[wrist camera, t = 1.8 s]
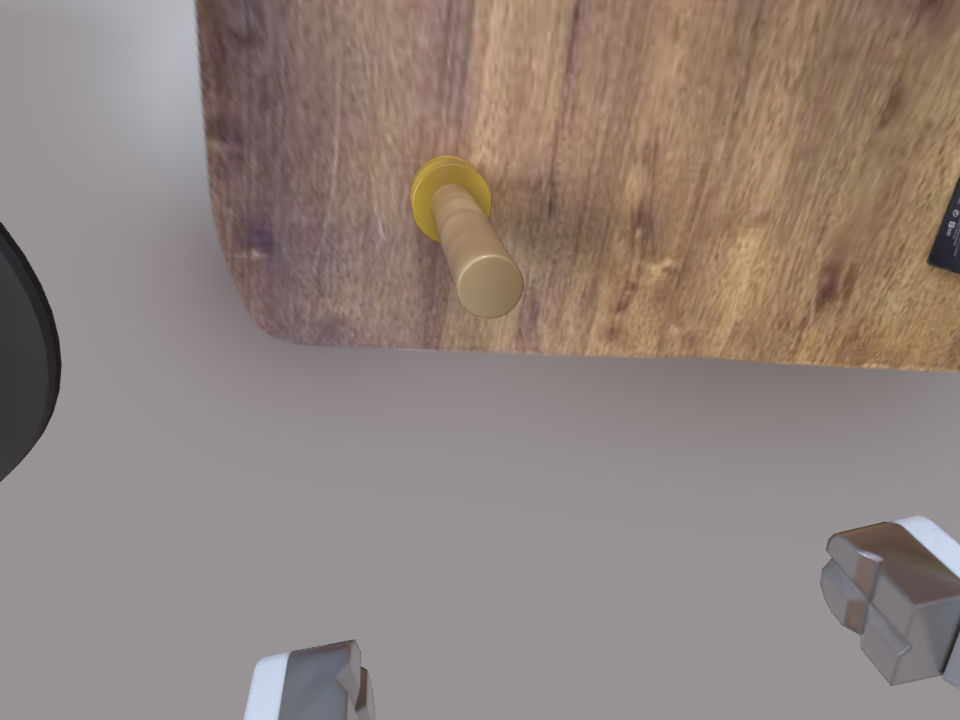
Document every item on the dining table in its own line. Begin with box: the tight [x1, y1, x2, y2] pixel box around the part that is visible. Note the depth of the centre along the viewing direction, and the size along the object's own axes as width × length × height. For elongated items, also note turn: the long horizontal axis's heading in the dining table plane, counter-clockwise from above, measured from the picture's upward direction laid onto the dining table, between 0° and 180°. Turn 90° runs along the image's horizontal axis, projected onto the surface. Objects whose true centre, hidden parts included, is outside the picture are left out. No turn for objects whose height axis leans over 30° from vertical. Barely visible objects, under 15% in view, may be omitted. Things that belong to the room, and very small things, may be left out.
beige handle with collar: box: [410, 156, 524, 319], centre depth 28 cm, size 4×4×16 cm
